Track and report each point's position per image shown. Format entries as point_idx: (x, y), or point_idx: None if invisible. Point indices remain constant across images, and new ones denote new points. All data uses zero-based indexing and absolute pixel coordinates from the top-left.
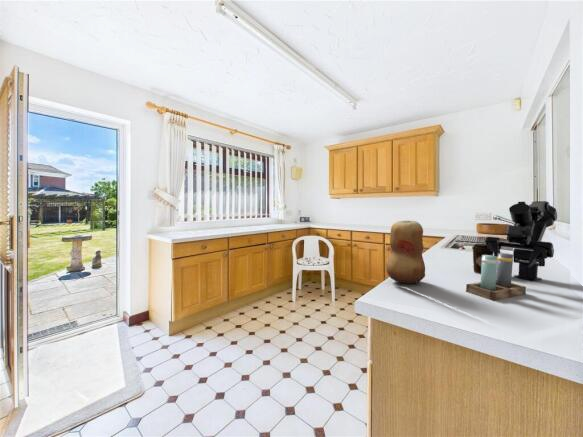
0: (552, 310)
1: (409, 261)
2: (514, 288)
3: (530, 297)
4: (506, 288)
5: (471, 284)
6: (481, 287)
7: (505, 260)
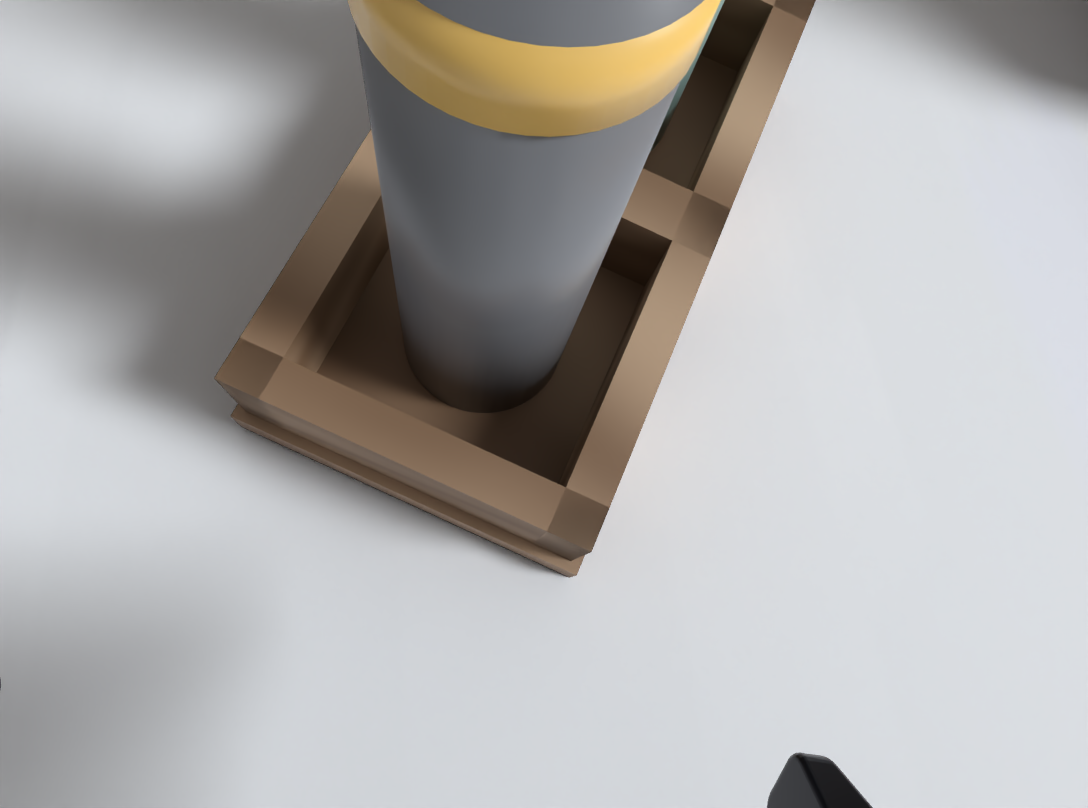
0: (49, 114)
1: None
2: (356, 168)
3: (201, 446)
4: None
5: (778, 22)
6: None
7: None
